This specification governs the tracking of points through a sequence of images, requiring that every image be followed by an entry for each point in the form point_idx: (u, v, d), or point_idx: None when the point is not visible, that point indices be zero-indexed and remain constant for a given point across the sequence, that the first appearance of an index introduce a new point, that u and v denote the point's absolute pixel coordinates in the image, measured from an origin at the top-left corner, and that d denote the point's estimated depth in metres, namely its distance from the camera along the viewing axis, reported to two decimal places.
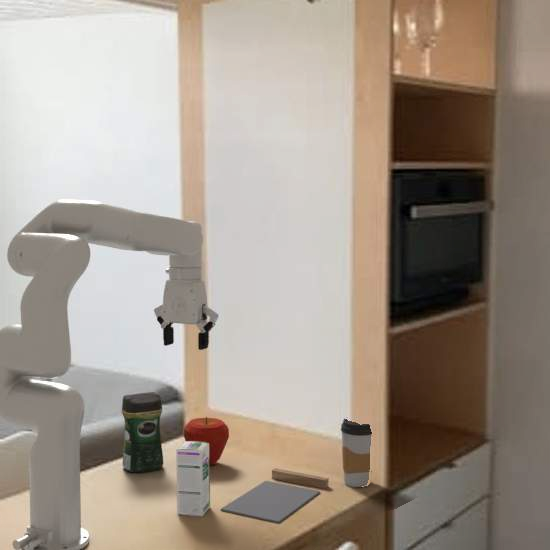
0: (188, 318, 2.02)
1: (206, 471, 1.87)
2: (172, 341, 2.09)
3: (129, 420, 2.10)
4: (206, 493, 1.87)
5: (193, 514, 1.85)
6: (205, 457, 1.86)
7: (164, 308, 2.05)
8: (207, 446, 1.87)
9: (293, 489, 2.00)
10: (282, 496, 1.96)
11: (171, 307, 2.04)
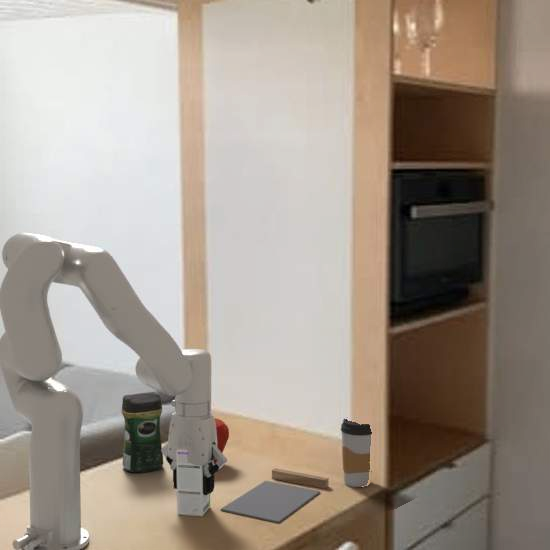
0: (196, 458, 1.83)
1: None
2: None
3: (129, 420, 2.10)
4: None
5: (193, 514, 1.85)
6: None
7: (170, 445, 1.86)
8: None
9: (293, 489, 2.00)
10: (282, 496, 1.96)
11: (177, 445, 1.85)
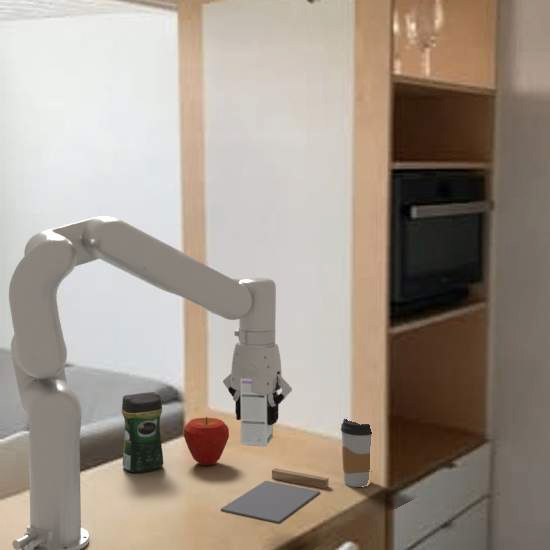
0: (261, 387, 1.81)
1: None
2: None
3: (129, 420, 2.10)
4: None
5: (257, 444, 1.83)
6: None
7: (233, 375, 1.84)
8: None
9: (293, 489, 2.00)
10: (282, 496, 1.96)
11: (241, 374, 1.83)
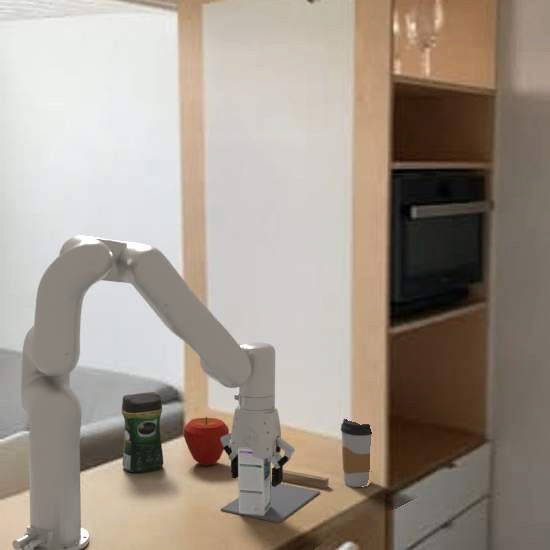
0: (261, 452, 1.82)
1: (268, 471, 1.86)
2: None
3: (129, 420, 2.10)
4: (267, 493, 1.86)
5: (254, 513, 1.85)
6: None
7: (233, 439, 1.85)
8: None
9: (293, 489, 2.00)
10: (282, 496, 1.96)
11: (241, 439, 1.84)
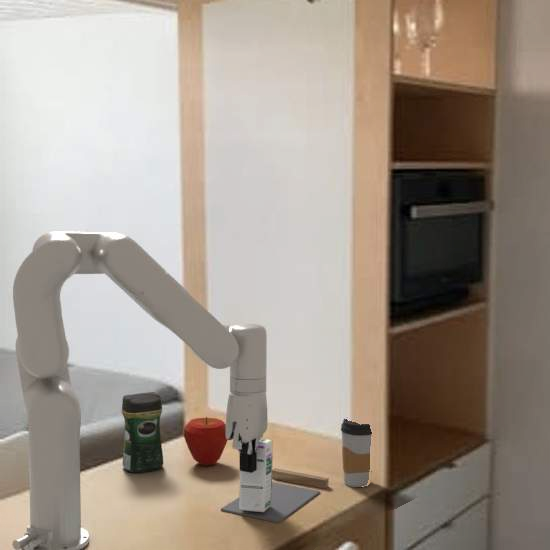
0: None
1: (269, 467, 1.87)
2: None
3: (129, 420, 2.10)
4: (268, 490, 1.87)
5: (255, 509, 1.85)
6: (269, 452, 1.87)
7: None
8: (271, 443, 1.89)
9: (293, 489, 2.00)
10: (282, 496, 1.96)
11: None
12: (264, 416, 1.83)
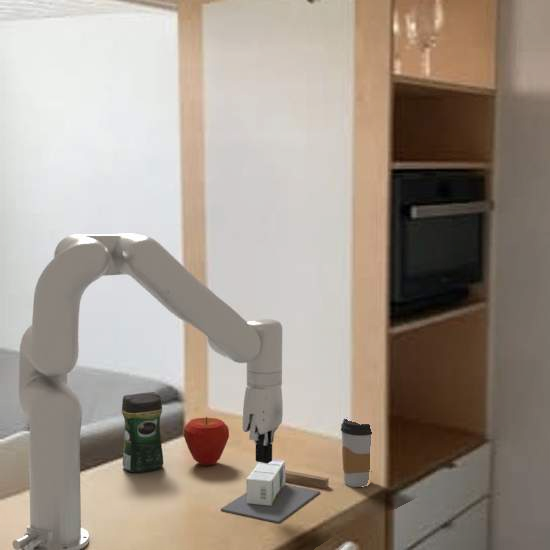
0: None
1: (280, 481, 1.98)
2: None
3: (129, 420, 2.10)
4: (275, 487, 1.93)
5: (262, 479, 1.90)
6: (283, 474, 2.01)
7: None
8: (284, 479, 2.03)
9: (293, 489, 2.00)
10: (282, 496, 1.96)
11: None
12: (279, 409, 1.89)
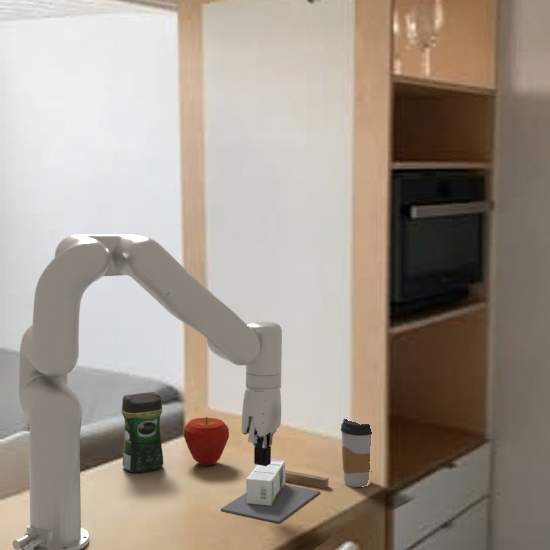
0: None
1: (280, 481, 1.98)
2: None
3: (129, 420, 2.10)
4: (275, 487, 1.93)
5: (262, 479, 1.90)
6: (283, 474, 2.01)
7: None
8: (284, 479, 2.03)
9: (293, 489, 2.00)
10: (282, 496, 1.96)
11: None
12: (278, 411, 1.89)
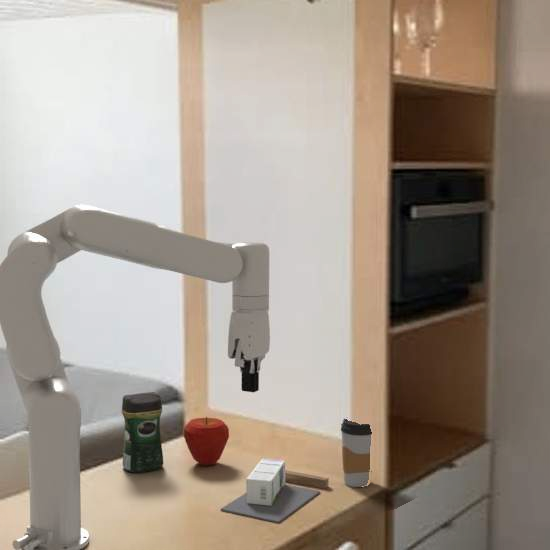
0: None
1: (280, 481, 1.98)
2: None
3: (129, 420, 2.10)
4: (275, 487, 1.93)
5: (262, 479, 1.90)
6: (283, 474, 2.01)
7: None
8: (284, 479, 2.03)
9: (293, 489, 2.00)
10: (282, 496, 1.96)
11: None
12: (266, 336, 1.82)
